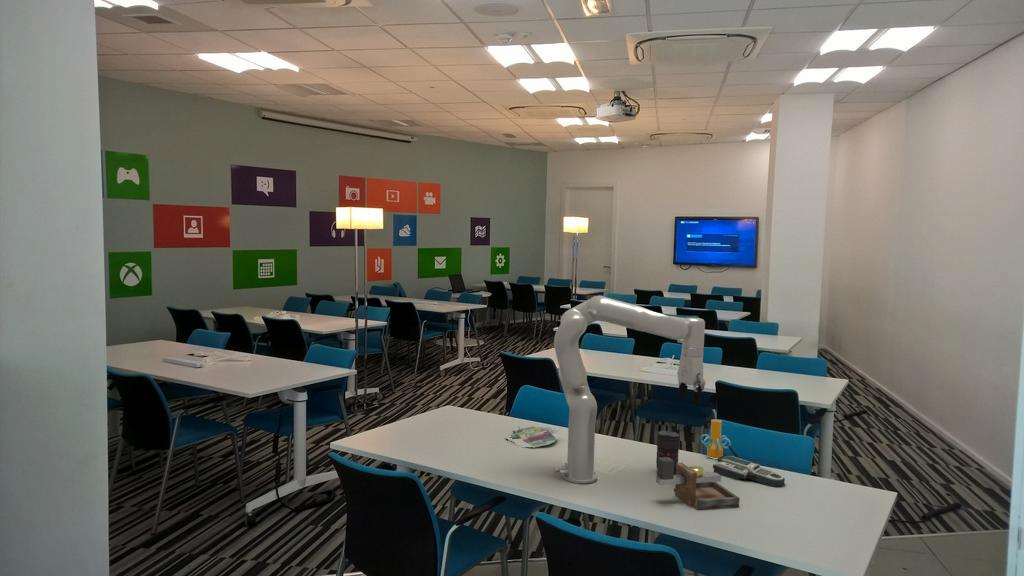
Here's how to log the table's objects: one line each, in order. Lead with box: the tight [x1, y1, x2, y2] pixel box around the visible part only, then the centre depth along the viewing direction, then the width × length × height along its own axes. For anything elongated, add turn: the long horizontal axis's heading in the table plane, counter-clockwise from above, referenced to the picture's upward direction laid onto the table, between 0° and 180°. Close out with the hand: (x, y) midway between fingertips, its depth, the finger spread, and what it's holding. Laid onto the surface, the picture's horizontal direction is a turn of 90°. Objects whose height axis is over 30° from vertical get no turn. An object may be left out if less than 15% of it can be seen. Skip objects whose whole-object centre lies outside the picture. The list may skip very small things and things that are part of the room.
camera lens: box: [655, 430, 681, 475], centre depth 235 cm, size 8×8×15 cm
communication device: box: [712, 444, 786, 488], centre depth 233 cm, size 12×24×9 cm, turn 48°
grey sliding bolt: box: [655, 457, 722, 486], centre depth 210 cm, size 22×4×8 cm, turn 103°
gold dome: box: [689, 465, 704, 478], centre depth 210 cm, size 4×4×2 cm
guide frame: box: [673, 462, 740, 511], centre depth 211 cm, size 16×16×11 cm
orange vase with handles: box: [700, 418, 732, 458], centre depth 255 cm, size 12×10×15 cm
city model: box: [509, 426, 561, 449], centre depth 271 cm, size 25×23×6 cm
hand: (689, 399), depth 228 cm, fingers open, 9 cm apart
